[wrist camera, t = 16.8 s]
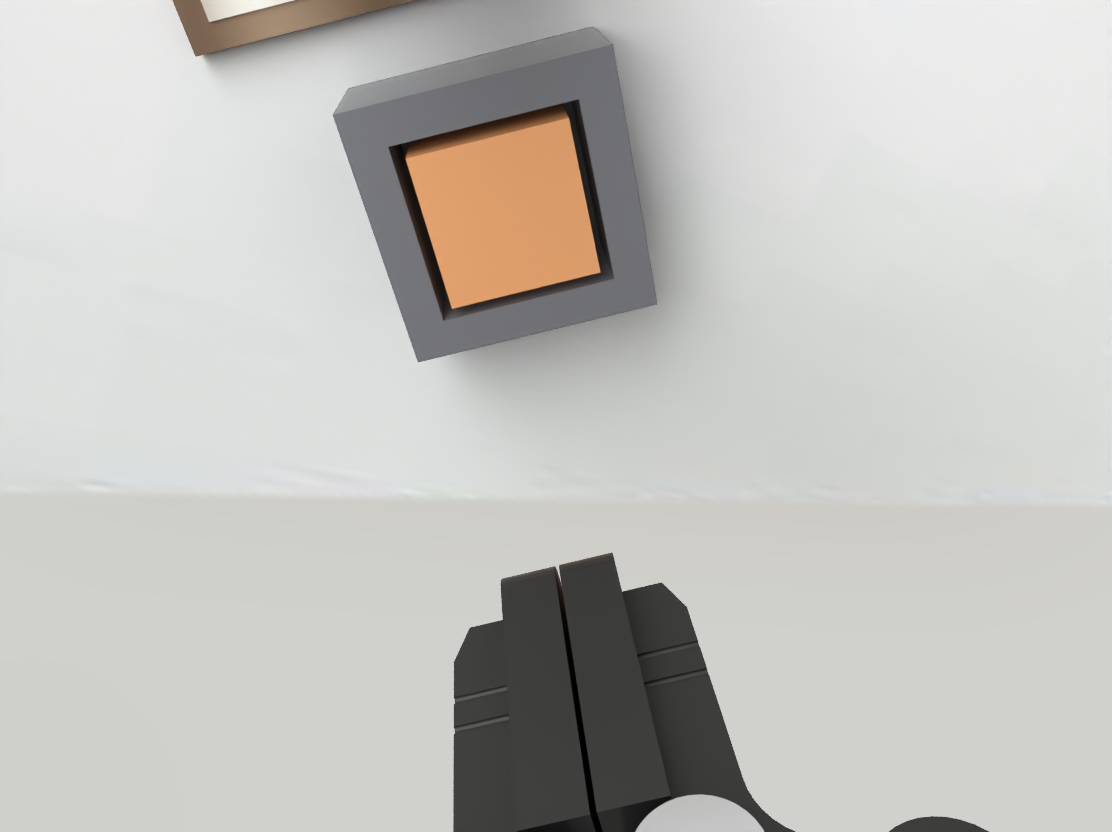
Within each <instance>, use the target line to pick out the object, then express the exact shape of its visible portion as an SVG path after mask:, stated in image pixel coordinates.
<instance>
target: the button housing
mask: <svg viewBox="0 0 1112 832" xmlns="http://www.w3.org/2000/svg"><path fill="white" fill-rule="evenodd" d="M557 104H562V106H563V108H564V110H565V111H566V113H567V115H568V117H569V121H570V126H571V131H572V136H573V141H574V145H575V150H576V155H577V160H578V165H579V170H580V175H581V180H582V184H583V189H584V194H585V199H586V204H587V209H588V214H589V219H590V223H591V228H592V233H593V238H594V243H595V248H596V253H597V258H598V262H599V267H600V273H596V274H592V275H588V276H584V277H580V278H576V279H572V280H568V281H564V282H559V283H555V284H551V285H547V286H543V287H539V288H535V289H531V290H527V291H523V292H519V293H515V294H511V295H506V296H502V297H498V298H494V299H490V300H486V301H482V302H478V303H474V304H470V305H466V306H462V307H457V308H453V309H452V307H451V304H450V301H449V297H448V294H447V291H446V288H445V284H444V281H443V278H442V275H441V272H440V268H439V265H438V262H437V259H436V255H435V252H434V249H433V246H432V242H431V239H430V236H429V233H428V230H427V226H426V223H425V220H424V217H423V213H422V210H421V207H420V204H419V201H418V197H417V194H416V191H415V188H414V184H413V181H412V178H411V175H410V171H409V168H408V165H407V162H406V154H407V150H408V145H409V142H410V141H414V140H418V139H422V138H426V137H430V136H434V135H438V134H442V133H446V132H450V131H454V130H458V129H462V128H466V127H470V126H474V125H478V124H482V123H486V122H490V121H494V120H498V119H502V118H506V117H510V116H514V115H518V114H522V113H526V112H530V111H534V110H538V109H542V108H546V107H550V106H553V105H557ZM333 117H334V120H335V123H336V125H337V128H338V131H339V134H340V137H341V140H342V143H343V146H344V149H345V152H346V154H347V157H348V160H349V163H350V166H351V169H352V172H353V175H354V178H355V181H356V183H357V186H358V189H359V192H360V195H361V198H362V201H363V204H364V207H365V210H366V212H367V215H368V218H369V221H370V224H371V227H372V230H373V233H374V236H375V239H376V242H377V244H378V247H379V250H380V253H381V256H382V259H383V262H384V265H385V268H386V271H387V273H388V276H389V279H390V282H391V285H392V288H393V291H394V294H395V297H396V300H397V302H398V305H399V308H400V311H401V314H402V317H403V320H404V323H405V326H406V329H407V331H408V334H409V337H410V340H411V343H412V346H413V349H414V352H415V355H416V358H417V360H418V362H421V361H426V360H430V359H434V358H438V357H442V356H446V355H450V354H454V353H458V352H462V351H467V350H471V349H475V348H479V347H483V346H487V345H491V344H495V343H499V342H504V341H508V340H512V339H516V338H520V337H524V336H528V335H532V334H536V333H540V332H545V331H549V330H553V329H557V328H561V327H565V326H569V325H573V324H577V323H582V322H586V321H590V320H594V319H598V318H602V317H606V316H610V315H614V314H619V313H623V312H627V311H631V310H635V309H639V308H643V307H647V306H651V305H655V304H657V300H656V294H655V288H654V282H653V276H652V271H651V265H650V259H649V253H648V247H647V241H646V236H645V230H644V224H643V218H642V212H641V206H640V201H639V195H638V189H637V183H636V177H635V172H634V166H633V160H632V154H631V148H630V142H629V137H628V131H627V125H626V119H625V113H624V107H623V102H622V96H621V90H620V84H619V78H618V72H617V67H616V61H615V55H614V49H613V44H612V43H611V42H610V41H609V40H608V39H606V38H605V37H604V36H603V35H602V34H601V33H600V32H599V31H598V30H596V29H595V28H594V27H589V28H585V29H581V30H577V31H573V32H570V33H566V34H562V35H558V36H554V37H550V38H546V39H542V40H538V41H534V42H530V43H526V44H522V45H518V46H514V47H510V48H506V49H502V50H498V51H495V52H491V53H487V54H483V55H479V56H475V57H471V58H467V59H463V60H459V61H455V62H451V63H447V64H443V65H439V66H435V67H431V68H427V69H423V70H420V71H416V72H412V73H408V74H404V75H400V76H396V77H392V78H388V79H384V80H380V81H376V82H372V83H368V84H364V85H360V86H356V87H352V88H348V90H347V92H346V93H345V95H344V97H343V98H342V100H341V102H340V104H339V105H338V107H337V109H336V110H335V112H334V114H333Z"/></svg>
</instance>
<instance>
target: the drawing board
mask: <svg viewBox="0 0 1112 832" xmlns="http://www.w3.org/2000/svg"><path fill="white" fill-rule="evenodd" d="M411 1H415V0H173V3H174V5H175V7H176V10H177V12H178V15H179V17H180V20H181V22H182V24H183V27H184V29H185V32H186V34H187V37H188V39H189V41H190V44H191V46H192V49H193V51H194V54H195V56H200V55H204V54H208V53H212V52H216V51H220V50H223V49H227V48H231V47H235V46H239V45H243V44H247V43H251V42H255V41H259V40H263V39H266V38H270V37H274V36H278V35H282V34H286V33H290V32H294V31H298V30H302V29H306V28H309V27H313V26H317V25H321V24H325V23H329V22H333V21H337V20H341V19H345V18H349V17H352V16H356V15H360V14H364V13H368V12H372V11H376V10H380V9H384V8H388V7H392V6H396V5H399V4H403V3H407V2H411Z"/></svg>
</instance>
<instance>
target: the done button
mask: <svg viewBox="0 0 1112 832" xmlns="http://www.w3.org/2000/svg"><path fill="white" fill-rule="evenodd" d="M406 162H407V165H408V168H409V171H410V175H411V178H412V181H413V184H414V188H415V191H416V194H417V197H418V201H419V204H420V207H421V210H422V213H423V217H424V220H425V223H426V226H427V230H428V233H429V236H430V239H431V242H432V246H433V249H434V252H435V255H436V259H437V262H438V265H439V268H440V272H441V275H442V278H443V281H444V284H445V288H446V291H447V294H448V297H449V301H450V304H451V307H452V309H453V308H457V307H462V306H466V305H470V304H474V303H478V302H482V301H486V300H490V299H494V298H498V297H502V296H506V295H511V294H515V293H519V292H523V291H527V290H531V289H535V288H539V287H543V286H547V285H551V284H555V283H559V282H564V281H568V280H572V279H576V278H580V277H584V276H588V275H592V274H596V273H600V267H599V262H598V258H597V253H596V248H595V243H594V238H593V233H592V228H591V223H590V219H589V214H588V209H587V204H586V199H585V194H584V189H583V184H582V180H581V175H580V170H579V165H578V160H577V155H576V150H575V145H574V141H573V136H572V131H571V126H570V121H569V117H568V115H567V113H566V111H565V110H564V108H563V106H562V104H557V105H553V106H550V107H546V108H542V109H538V110H534V111H530V112H526V113H522V114H518V115H514V116H510V117H506V118H502V119H498V120H494V121H490V122H486V123H482V124H478V125H474V126H470V127H466V128H462V129H458V130H454V131H450V132H446V133H442V134H438V135H434V136H430V137H426V138H422V139H418V140H414V141H410V142H409V145H408V150H407V154H406Z"/></svg>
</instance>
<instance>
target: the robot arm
mask: <svg viewBox="0 0 1112 832" xmlns="http://www.w3.org/2000/svg"><path fill="white" fill-rule="evenodd" d="M559 569H560V576H561V582H560V578H559V575H558V572H557V569H556V567H550V568H546V569H542V570H538V571H534V572H529V573H525V574H521V575H517V576H512V577H508V578H504V579H502V580H501V598H502V613H503V620H501V621H497V622H493V623H489V624H484V625H480V626H476V627H471V628H470V629H469V631H468V633H467V635H466V638H465V640H464V642H463V644H462V646H461V648H460V651H459V653H458V655H457V657H456V659H455V662H454V698H455V704H454V728H455V734H454V832H795V831H793V830H791V829H788V828H786V827H784V826H783V825H781V824H780V823H778V822H777V821H775V820H774V819H772V818H771V817H770V816H769V815H768V814H767V813H765V812H764V811H763V810H762V809H761V808H760V806H758V804H757V803H756V802H755V801H754V799H753V798H752V796H751V794H750V793H749V791H748V790H747V787H746V785H745V782H744V780H743V778H742V775H741V771H740V768H739V766H738V762H737V759H736V756H735V753H734V750H733V747H732V744H731V741H730V738H729V735H728V732H727V729H726V726H725V723H724V720H723V716H722V713H721V710H720V707H719V704H718V701H717V698H716V695H715V692H714V689H713V686H712V683H711V680H710V677H709V675H708V672H707V668H706V664H705V662H704V658H703V655H702V652H701V649H700V647H699V644H698V640H697V637H696V634H695V631H694V628H693V625H692V622H691V619H690V615H689V613H688V609H687V607H686V606H685V605H684V604H683V603H682V602H681V601H680V600H679V599H678V598H677V597H676V596H675V595H674V594H673V593H672V592H671V591H670V590H669V589H668V588H667V587H666V586H664V584H662V583H658V584H654V585H649V586H645V587H641V588H636V589H632V590H628V591H624V592H622V590H621V586H620V582H619V578H618V574H617V569H616V565H615V561H614V557H613V553H609V554H604V555H600V556H596V557H592V558H587V559H583V560H579V561H575V562H570V563H566V564H562V565H560V566H559ZM561 583H562V585H561ZM889 832H988V831H986V830H984V829H982V828H980V827H978V826H976V825H974V824H971V823H968V822H965V821H962V820H958V819H953V818H948V817H933V816H932V817H923V818H917V819H913V820H910V821H907V822H904V823H902V824H900V825H898V826H896V827H895V828H893V829H892V830H891V831H889Z"/></svg>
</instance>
